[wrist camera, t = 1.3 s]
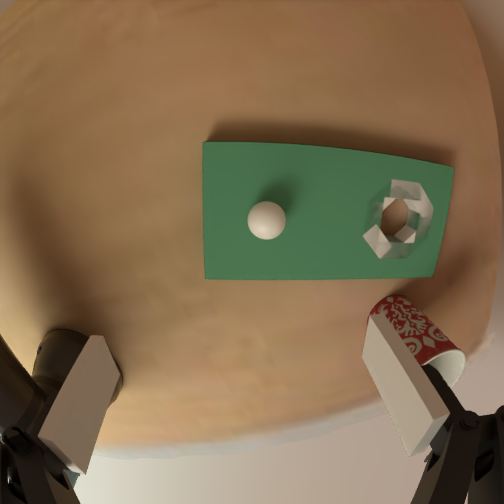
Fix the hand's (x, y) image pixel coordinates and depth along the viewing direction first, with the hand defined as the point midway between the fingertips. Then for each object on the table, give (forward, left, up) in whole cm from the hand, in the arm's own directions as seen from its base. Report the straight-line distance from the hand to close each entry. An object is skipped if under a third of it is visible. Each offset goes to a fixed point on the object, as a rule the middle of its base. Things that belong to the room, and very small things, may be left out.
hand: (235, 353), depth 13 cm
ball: (+3, +2, -15) cm, 16 cm away
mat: (+11, +2, -20) cm, 22 cm away
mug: (+22, -14, -20) cm, 33 cm away
